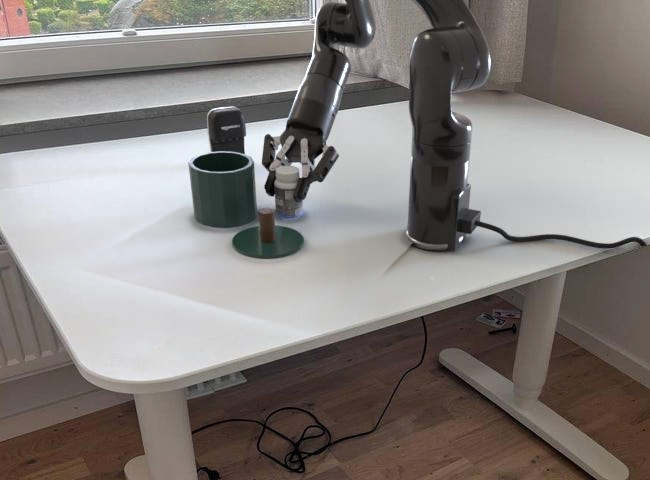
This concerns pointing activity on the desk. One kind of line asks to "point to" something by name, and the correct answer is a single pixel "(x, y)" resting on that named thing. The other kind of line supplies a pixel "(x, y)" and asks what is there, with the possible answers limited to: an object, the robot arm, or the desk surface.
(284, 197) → the pill bottle
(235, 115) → the battery charger
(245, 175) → the tin
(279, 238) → the lid
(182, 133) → the desk surface
